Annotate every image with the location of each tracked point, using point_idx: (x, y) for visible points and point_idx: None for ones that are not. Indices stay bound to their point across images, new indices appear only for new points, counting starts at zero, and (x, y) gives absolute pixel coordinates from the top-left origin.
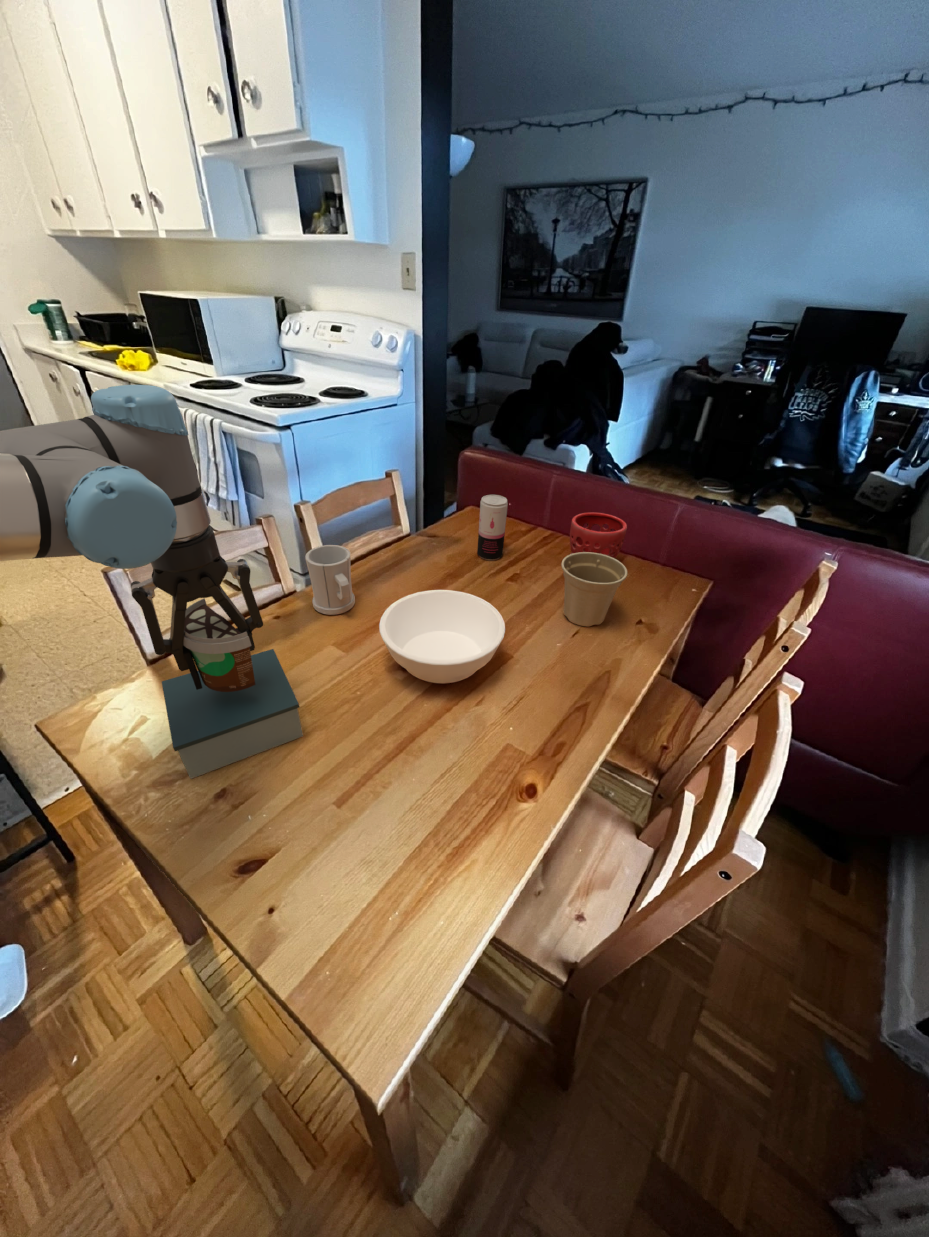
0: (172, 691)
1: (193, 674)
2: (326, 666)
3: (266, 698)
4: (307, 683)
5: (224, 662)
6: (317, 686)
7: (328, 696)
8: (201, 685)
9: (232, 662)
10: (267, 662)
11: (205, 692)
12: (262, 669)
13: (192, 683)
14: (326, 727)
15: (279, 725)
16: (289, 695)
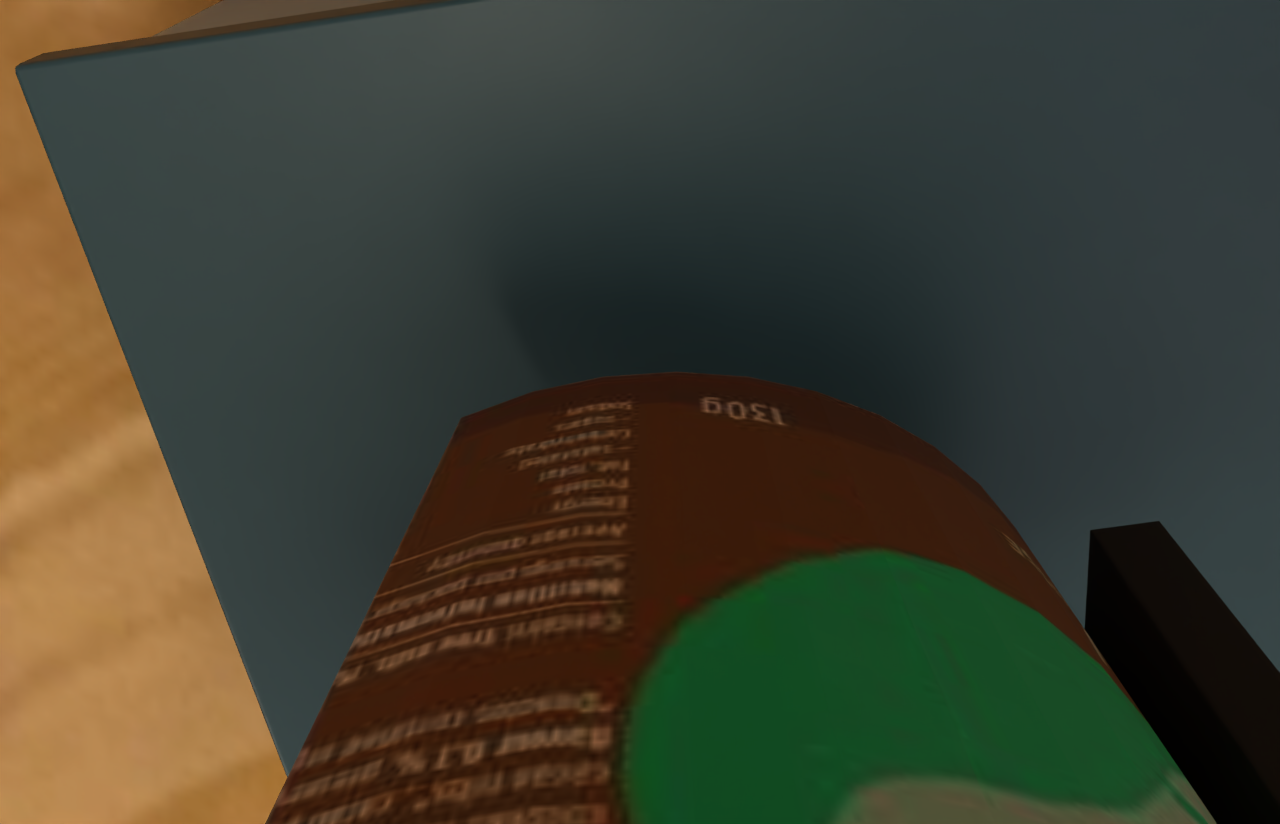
0: None
1: (1263, 698)
2: (54, 687)
3: (405, 289)
4: (199, 566)
5: (843, 733)
6: (118, 515)
7: (20, 385)
8: (1109, 556)
9: (678, 703)
10: None
11: None
12: None
13: None
14: (18, 32)
15: (348, 6)
16: (143, 254)
